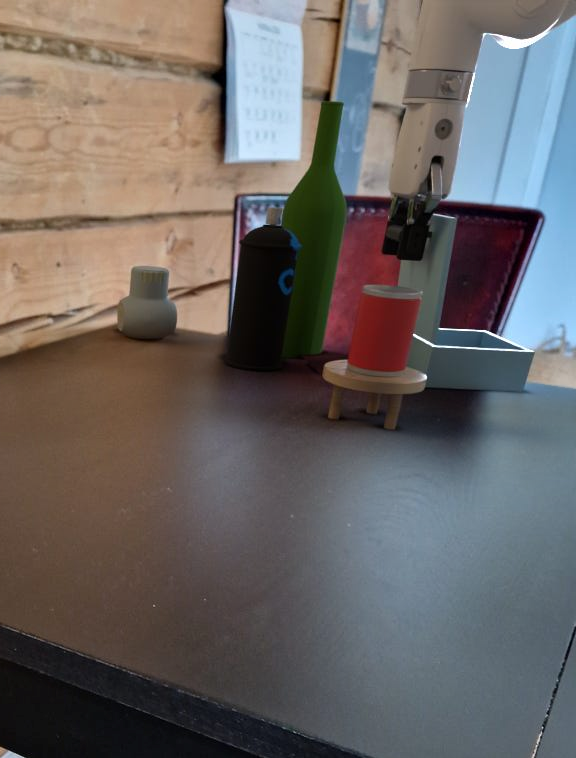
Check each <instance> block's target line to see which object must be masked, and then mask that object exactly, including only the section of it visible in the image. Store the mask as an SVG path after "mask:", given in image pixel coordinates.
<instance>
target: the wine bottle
mask: <svg viewBox="0 0 576 758" xmlns="http://www.w3.org/2000/svg"><path fill="white" fill-rule="evenodd" d="M344 106H345V103H344V102H343V101H331V100H324V101H321V103H320V111H319V115H318V121H317V128H316V134H315V138H314V139H315V140H314V145H313V151H312V155H311V156H312V157H311V163H310V165H309V167H308V169H307V171H306V172H305V173H304V174H303V176H302V177H301V178H300V181H299V182H298V183H297V184H296V186H295V187H294V189H292V191H291V193H290V194H289V196H288V197H287V198H286V201H285V203H284V207H283V208H282V209H283V211H282V214H281V224H280V226H282V228H284V229H286V230H288V231H290V232H291V233H293V234H294V235H295V237H296V238H297V240H298V243H299V244H301V248H300V249H299V252H298V258H297V264H296V271H295V277H294V283H293V290H292V296H291V302H290V309H289V315H288V321H287V328H286V334H285V340H284V347H283V353H282V358H285V359H297V360H305V357H304V356H302V355H318V354H322V352H323V349H324V343H325V338H326V332H327V327H328V322H329V316H330V310H331V305H332V299H333V293H334V289H335V288H334V287H335V282H336V276H337V273H338V272H337V270H338V266H339V261H340V255H341V248H342V244H343V238H344V232H345V226H346V222H347V216H348V215H347V214H348V213H347V211H348V210H347V209H348V207H347V200H346V198H345V194H344V192H343V190H342V186H341V184H340V181H339V179H338V175H337V172H336V167H335V163H336V156H337V148H338V142H339V136H340V130H341V124H342V116H343V111H344Z"/></svg>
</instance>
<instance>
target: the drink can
mask: <svg viewBox="0 0 576 758" xmlns="http://www.w3.org/2000/svg"><path fill="white" fill-rule="evenodd" d="M421 295H422V292H421V291H419V290H416V289H412V288H406V287H399V286H398V285H387V284H366V285H363V286H362V291H360V296H359V300H358V305H357V311H356V316H355V321H354V325H353V331H352V336H351V342H350V346H349V351H348V356H347V360H348V361H347V362H348V366H347V368H348V369H349V370H351V371H353V372H356V373H359V374H364V375H369V376H377V377H398V376H401V375H403V373H404V370H405V368H406V364H407V360H408V356H409V351H410V347H411V343H412V338H413V334H414V330H415V325H416V321H417V317H418V312H419V308H420V304H421V299H422V298H421Z"/></svg>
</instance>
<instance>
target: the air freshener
mask: <svg viewBox="0 0 576 758" xmlns="http://www.w3.org/2000/svg"><path fill="white" fill-rule="evenodd" d="M169 282H170V270H169V269H168V268H166V267H161V266H155V265H153V266H151V265H135V266H133V267H131V270H130V282H129V293H128V295H126V296H125V297H123V298H121V299H119V301H118V304H117V312H116V313H117V314H116V317H117V318H116V320H117V327H118V330H119V331H120V332H121V333H123V334H124V335H125V336H126V337H127V338H131V339H138V340H163V339H164V338H166V337H169V336H170V335H172V334H173V333H175V331H176V329H177V324H178V310H177V306H176V303H175V302H174V301H173V300H171V299H170V298H168V294H169V293H168V292H169V284H170V283H169Z"/></svg>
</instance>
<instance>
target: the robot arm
mask: <svg viewBox="0 0 576 758" xmlns="http://www.w3.org/2000/svg"><path fill="white" fill-rule="evenodd" d="M421 2H422V3H421V7H420V11H419V17H418V22H417V27H416V32H415V36H414V42H413V46H412V50H411V51H412V52H411V56H410V61H409V66H408V72H407V76H406V81H405V85H404V86H405V87H404V90H403V96H402V101H401V105H404V106H406V108H405V112H404V115H403V119H402V123H401V127H400V130H399V134H398V138H397V142H396V146H395V151H394V154H393V159H392V164H391V169H390V174H389V179H388V190H389V192H390V202H389V205H390V208H389V211H388V215H387V223H386V227H385V233H384V236H383V237H384V238H383V241H382V247H381V254H382V255H385V256H396V259H397V260H399V261H401V260H410V261H421V260H422V258H423V254H424V250H425V245H426V241H427V237H428V232H429V228H430V225H431V224H432V219H433V214H435V212H436V211H437V206H438V205H439V203H440V202H441V201H443V200H446V199H447V198H448V197H449V196H450V195H451V192H452V189H453V184H454V179H455V174H456V170H457V166H458V165H457V163H458V159H459V153H460V148H461V143H462V137H463V132H464V131H463V130H464V122H465V112H466V111H465V110H466V108H468V105H469V101H470V95H471V92H472V87H473V83H474V80H475V74H476V70H477V66H478V61H479V57H480V54H481V53H480V52H481V49H482V45H483V40H484V38H485V36H486V35H491V37H492V39H493V40H494V41H495V42H496V43H497V44H499V45H500V46H503V47H504V48H508V49H521V48H524V47H528V46H530V45H531V44H533V43H535V42H537V41H538V40H540V39H542V38H543V37H545V36H546V35H548V34H550V33H551V32H553V31H554V30H556V29H557V28H558V27H560V26H562V25H563V24H565V23H566V22H568V21H569V20H571V19H573V18H574V17H576V0H422V1H421ZM417 205H418V206H417ZM391 225H398V226H403V228H402V233H401V238H400V242H397V241H393V240H390V239H388V238H387V237H386V230H387V228H388V227H389V226H391Z"/></svg>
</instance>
